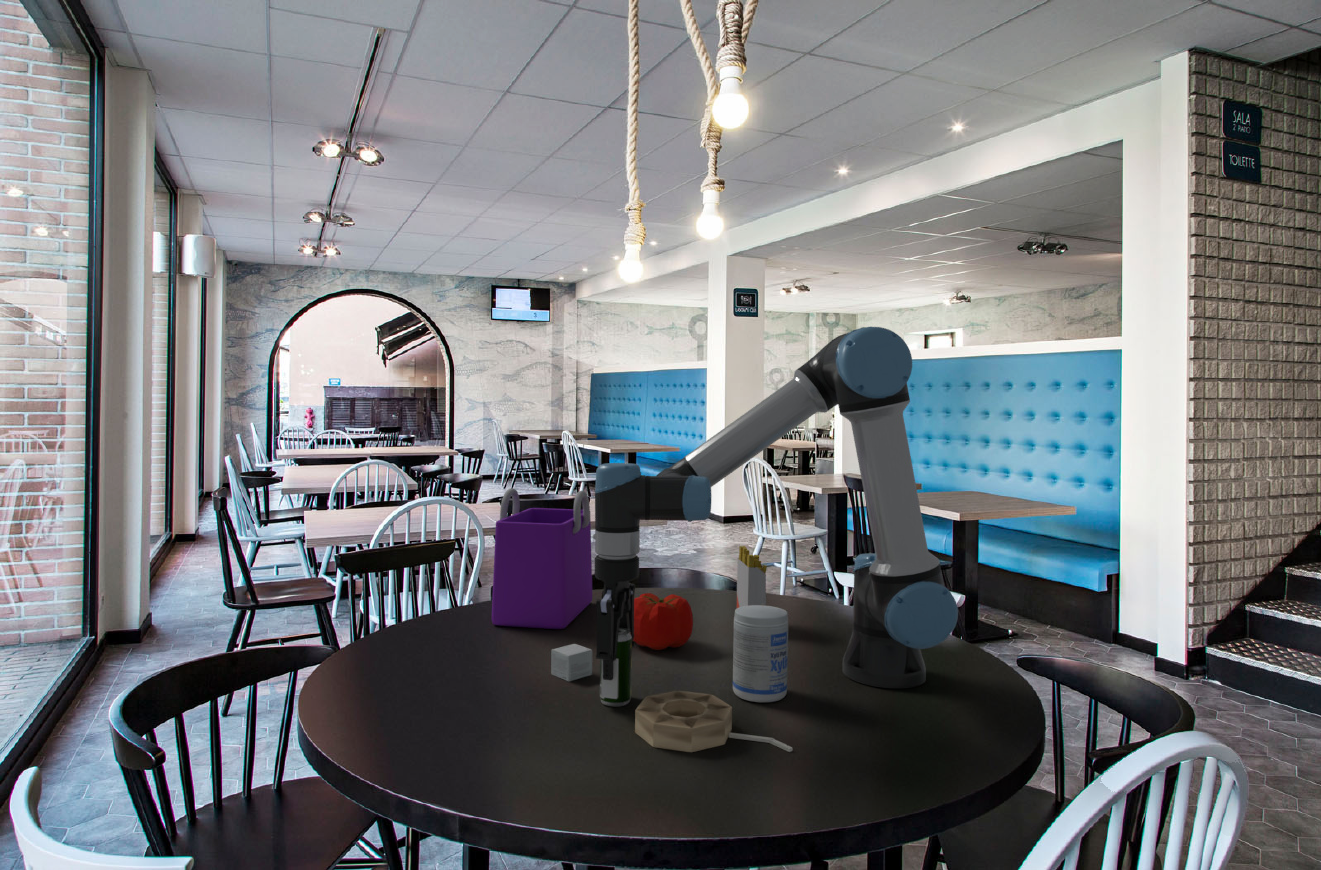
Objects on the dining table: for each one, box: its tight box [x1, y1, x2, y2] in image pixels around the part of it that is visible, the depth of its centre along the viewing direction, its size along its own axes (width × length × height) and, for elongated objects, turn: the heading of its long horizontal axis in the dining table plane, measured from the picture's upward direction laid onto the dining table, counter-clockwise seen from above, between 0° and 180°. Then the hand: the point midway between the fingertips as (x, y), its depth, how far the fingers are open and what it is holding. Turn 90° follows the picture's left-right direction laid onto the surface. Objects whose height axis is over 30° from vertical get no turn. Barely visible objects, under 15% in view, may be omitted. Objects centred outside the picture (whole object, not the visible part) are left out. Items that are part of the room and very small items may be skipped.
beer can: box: [599, 627, 633, 707], centre depth 132 cm, size 5×5×12 cm
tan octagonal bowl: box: [634, 690, 733, 753], centre depth 120 cm, size 14×14×4 cm
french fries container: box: [736, 545, 768, 609], centre depth 177 cm, size 5×11×18 cm, turn 7°
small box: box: [550, 643, 593, 682], centre depth 145 cm, size 6×6×5 cm
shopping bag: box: [491, 488, 593, 630], centre depth 186 cm, size 28×22×30 cm
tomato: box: [632, 592, 694, 651], centre depth 163 cm, size 14×13×10 cm
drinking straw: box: [728, 732, 793, 753], centre depth 116 cm, size 10×3×1 cm, turn 74°
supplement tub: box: [732, 605, 789, 703], centre depth 136 cm, size 10×10×15 cm
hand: (615, 690), depth 132 cm, fingers closed on beer can, 5 cm apart
